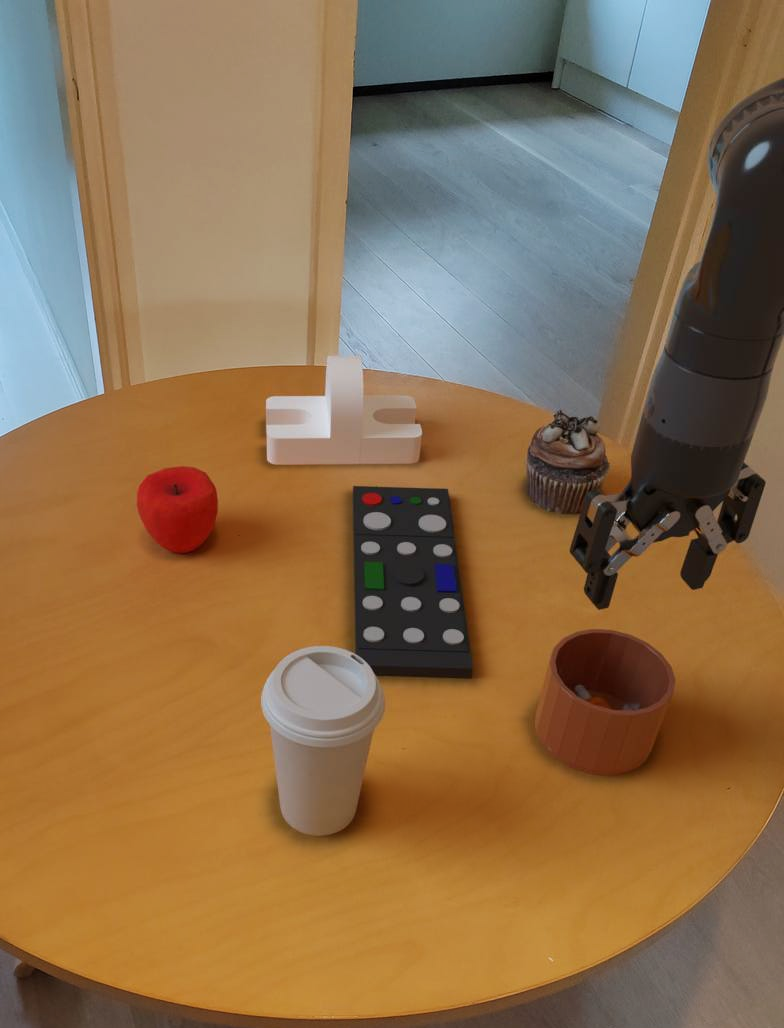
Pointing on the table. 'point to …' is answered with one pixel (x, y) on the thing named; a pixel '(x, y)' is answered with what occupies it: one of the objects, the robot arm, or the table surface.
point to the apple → (178, 507)
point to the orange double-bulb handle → (583, 694)
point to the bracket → (342, 423)
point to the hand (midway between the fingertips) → (644, 592)
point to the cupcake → (565, 463)
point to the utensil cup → (615, 678)
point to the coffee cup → (321, 734)
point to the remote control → (408, 584)
